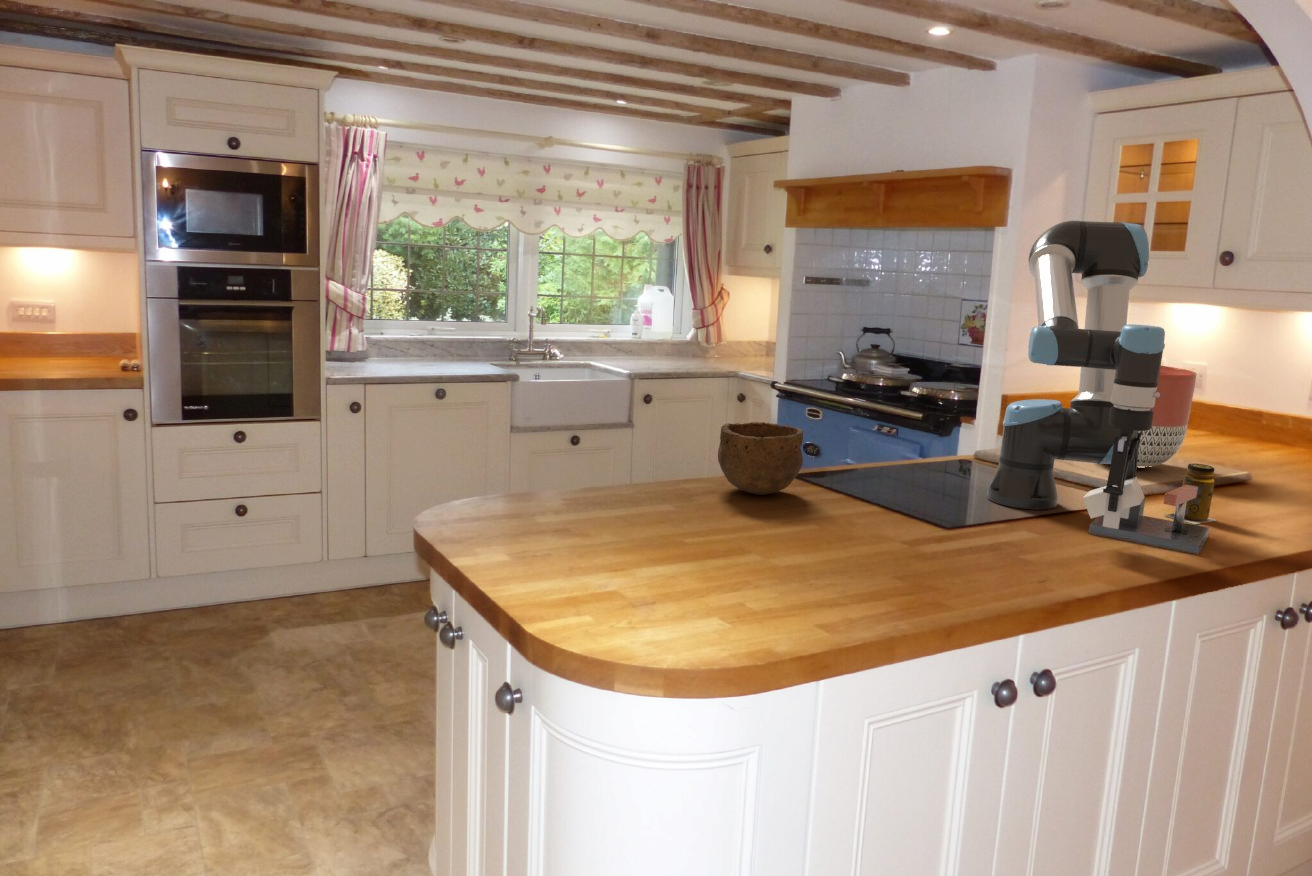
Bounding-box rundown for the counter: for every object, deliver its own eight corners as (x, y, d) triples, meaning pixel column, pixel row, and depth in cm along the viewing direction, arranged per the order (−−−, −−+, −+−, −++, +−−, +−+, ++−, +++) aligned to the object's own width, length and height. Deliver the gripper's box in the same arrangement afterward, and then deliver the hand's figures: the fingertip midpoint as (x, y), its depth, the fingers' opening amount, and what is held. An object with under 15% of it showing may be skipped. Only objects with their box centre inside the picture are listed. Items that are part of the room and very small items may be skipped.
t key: (1170, 537, 198) (1177, 495, 197) (1158, 534, 200) (1165, 492, 198) (1191, 527, 207) (1197, 486, 205) (1179, 524, 208) (1186, 484, 206)
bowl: (703, 496, 220) (707, 429, 217) (730, 478, 237) (734, 416, 234) (787, 508, 213) (792, 439, 210) (808, 490, 230) (813, 426, 227)
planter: (1064, 465, 272) (1077, 366, 267) (1086, 450, 294) (1099, 358, 288) (1172, 482, 257) (1189, 378, 252) (1187, 466, 279) (1203, 369, 273)
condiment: (1216, 520, 222) (1225, 467, 219) (1195, 525, 217) (1204, 471, 215) (1184, 512, 228) (1192, 460, 225) (1163, 516, 223) (1171, 463, 221)
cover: (1090, 518, 192) (1082, 497, 192) (1097, 510, 200) (1089, 490, 200) (1139, 504, 187) (1131, 483, 188) (1144, 497, 195) (1136, 476, 195)
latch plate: (1088, 533, 206) (1093, 500, 205) (1104, 517, 219) (1109, 486, 218) (1197, 554, 195) (1203, 519, 194) (1207, 536, 208) (1213, 504, 207)
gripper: (1144, 416, 179) (1126, 537, 183) (1163, 404, 197) (1146, 515, 201) (1099, 410, 183) (1082, 529, 187) (1121, 399, 201) (1106, 508, 205)
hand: (1115, 522), depth 194 cm, fingers closed on cover, 9 cm apart
